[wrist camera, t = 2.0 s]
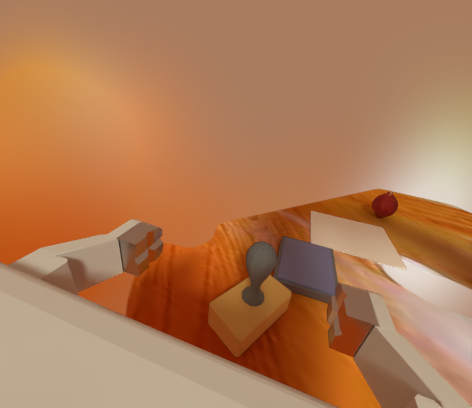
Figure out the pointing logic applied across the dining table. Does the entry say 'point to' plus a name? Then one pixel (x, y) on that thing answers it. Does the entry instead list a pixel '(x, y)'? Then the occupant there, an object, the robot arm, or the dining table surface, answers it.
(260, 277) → the rubber stamp
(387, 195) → the onion
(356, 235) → the paper
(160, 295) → the dining table surface
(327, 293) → the ink pad
